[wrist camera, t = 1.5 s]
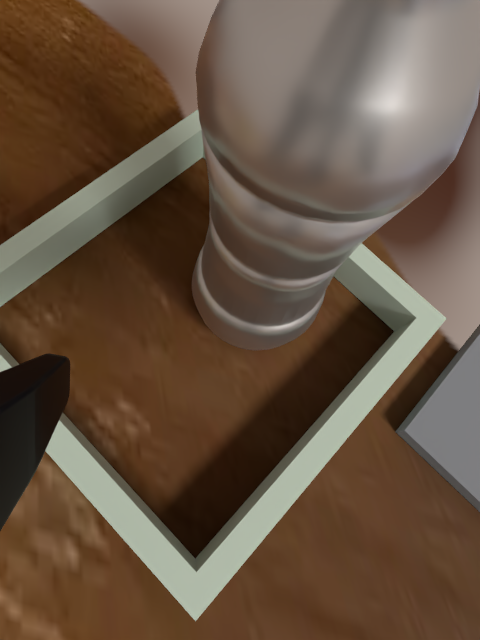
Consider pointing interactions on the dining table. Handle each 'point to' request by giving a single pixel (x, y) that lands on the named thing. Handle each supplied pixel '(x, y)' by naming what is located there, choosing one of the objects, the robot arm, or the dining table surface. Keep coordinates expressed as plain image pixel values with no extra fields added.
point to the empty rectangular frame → (306, 455)
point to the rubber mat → (451, 422)
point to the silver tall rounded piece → (319, 143)
